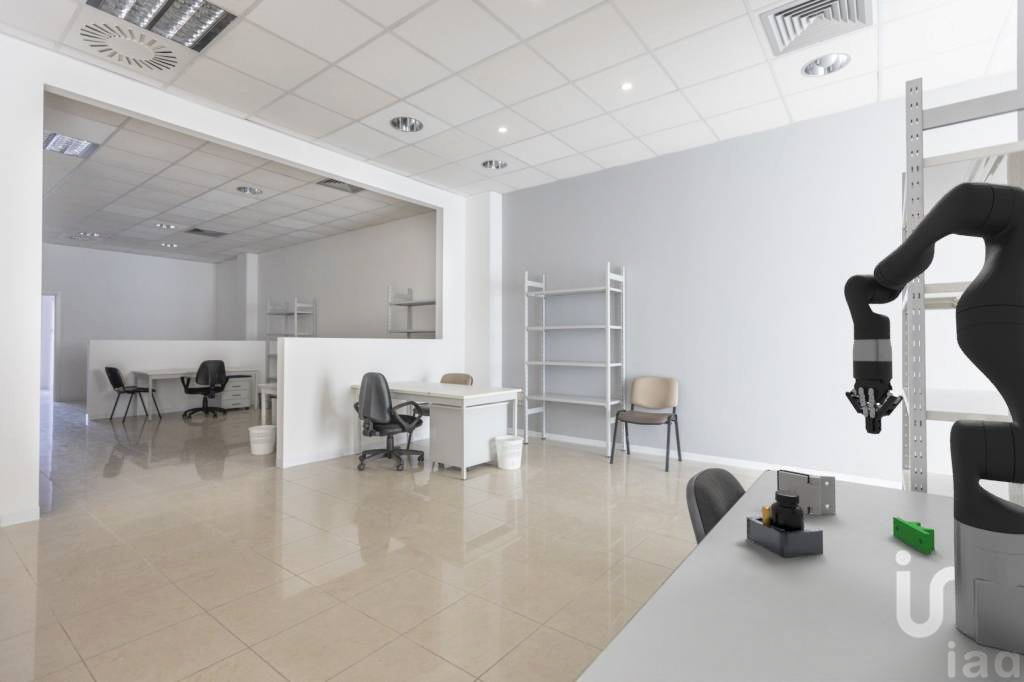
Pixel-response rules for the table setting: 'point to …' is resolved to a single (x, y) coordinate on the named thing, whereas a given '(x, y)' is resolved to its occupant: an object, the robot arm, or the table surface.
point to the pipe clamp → (914, 534)
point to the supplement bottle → (786, 512)
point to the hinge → (809, 490)
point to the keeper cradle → (783, 537)
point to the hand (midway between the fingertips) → (873, 433)
